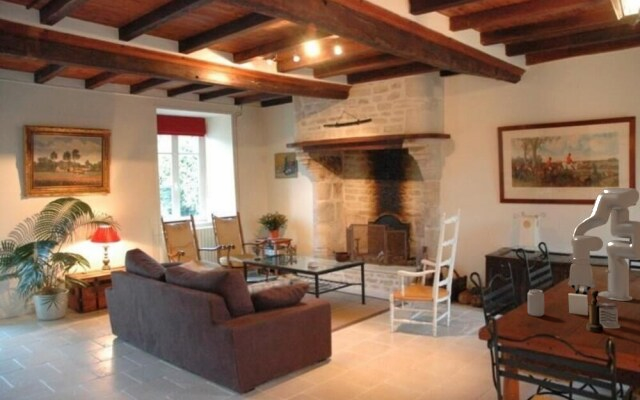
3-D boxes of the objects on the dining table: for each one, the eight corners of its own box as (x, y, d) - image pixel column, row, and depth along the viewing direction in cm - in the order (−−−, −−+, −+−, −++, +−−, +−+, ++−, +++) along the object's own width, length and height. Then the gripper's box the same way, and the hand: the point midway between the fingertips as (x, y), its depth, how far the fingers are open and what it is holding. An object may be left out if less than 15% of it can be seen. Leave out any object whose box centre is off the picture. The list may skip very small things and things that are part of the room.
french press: (620, 329, 221) (620, 272, 220) (590, 326, 227) (590, 270, 226) (620, 323, 229) (620, 269, 228) (591, 320, 236) (591, 267, 234)
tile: (569, 311, 250) (568, 293, 248) (588, 313, 246) (587, 294, 243) (569, 313, 249) (568, 294, 246) (587, 315, 244) (586, 296, 242)
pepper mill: (582, 328, 224) (582, 288, 223) (596, 327, 225) (596, 287, 224) (592, 332, 218) (592, 291, 217) (606, 332, 218) (606, 290, 217)
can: (545, 317, 243) (545, 292, 242) (529, 316, 244) (529, 292, 244) (542, 312, 250) (542, 288, 250) (526, 312, 252) (526, 288, 251)
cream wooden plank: (581, 290, 261) (580, 284, 259) (586, 291, 259) (585, 284, 258) (576, 310, 249) (575, 303, 248) (581, 311, 248) (581, 304, 246)
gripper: (562, 262, 255) (562, 298, 255) (598, 264, 245) (598, 302, 246) (565, 259, 261) (565, 295, 262) (600, 262, 251) (600, 299, 252)
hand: (581, 298), depth 254 cm, fingers closed on cream wooden plank, 2 cm apart
